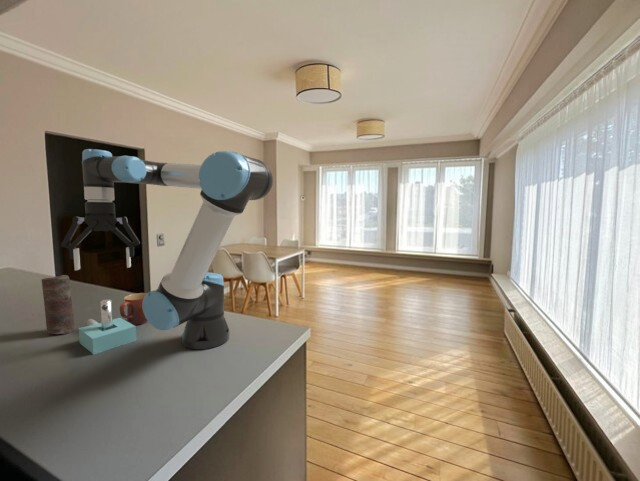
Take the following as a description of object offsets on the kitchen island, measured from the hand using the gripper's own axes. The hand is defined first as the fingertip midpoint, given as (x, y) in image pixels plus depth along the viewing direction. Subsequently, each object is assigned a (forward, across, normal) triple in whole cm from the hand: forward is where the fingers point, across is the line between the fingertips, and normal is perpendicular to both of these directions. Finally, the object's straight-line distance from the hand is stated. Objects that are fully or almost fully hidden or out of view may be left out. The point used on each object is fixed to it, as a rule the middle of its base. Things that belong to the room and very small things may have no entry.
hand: (104, 268), depth 96 cm
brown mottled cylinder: (+25, +16, -15) cm, 33 cm away
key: (+25, 0, 0) cm, 25 cm away
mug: (+25, -6, -14) cm, 29 cm away
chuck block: (+25, +2, -4) cm, 25 cm away
